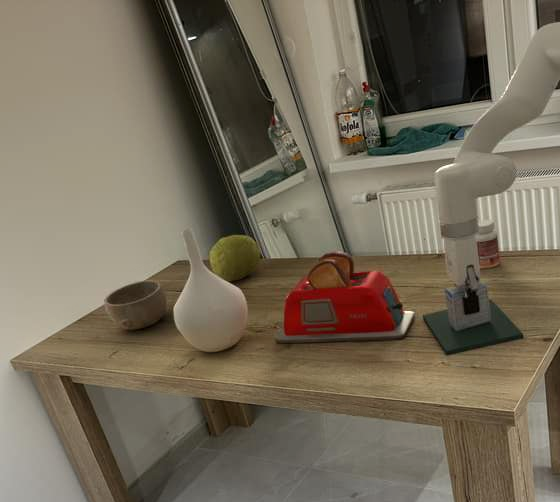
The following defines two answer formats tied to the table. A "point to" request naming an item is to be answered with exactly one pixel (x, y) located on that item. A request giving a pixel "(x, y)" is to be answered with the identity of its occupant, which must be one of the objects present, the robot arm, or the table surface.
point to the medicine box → (457, 309)
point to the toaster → (343, 305)
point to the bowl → (136, 304)
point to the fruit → (234, 257)
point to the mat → (472, 331)
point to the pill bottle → (487, 244)
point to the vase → (209, 306)
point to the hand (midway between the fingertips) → (468, 307)
